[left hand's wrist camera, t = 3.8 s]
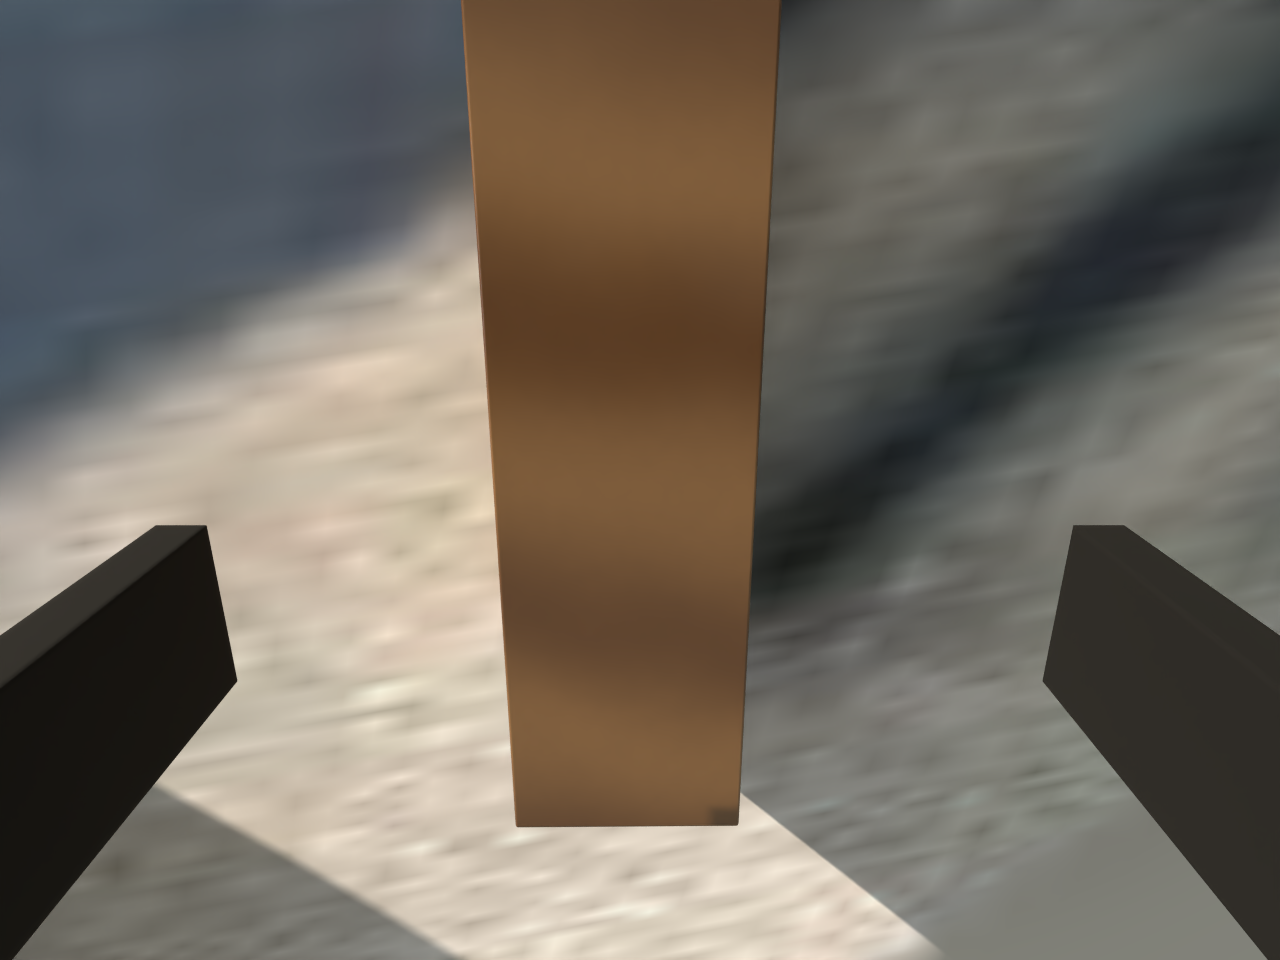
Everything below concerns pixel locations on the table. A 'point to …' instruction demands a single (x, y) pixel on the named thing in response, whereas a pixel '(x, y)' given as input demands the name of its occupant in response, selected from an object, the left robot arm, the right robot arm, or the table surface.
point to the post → (624, 388)
